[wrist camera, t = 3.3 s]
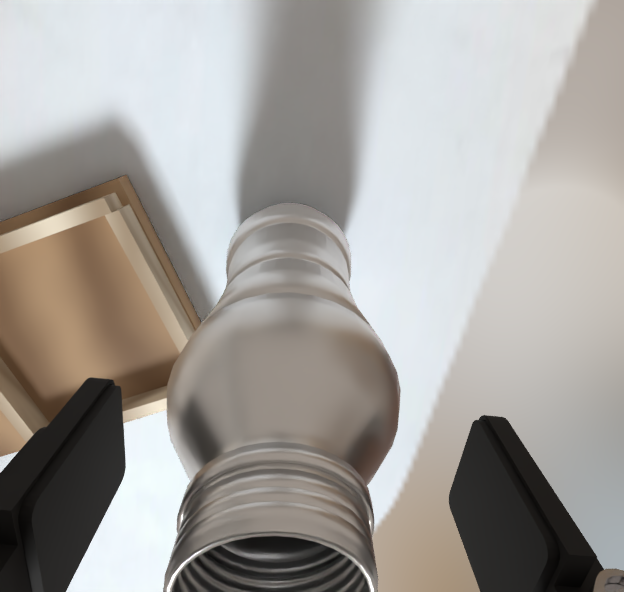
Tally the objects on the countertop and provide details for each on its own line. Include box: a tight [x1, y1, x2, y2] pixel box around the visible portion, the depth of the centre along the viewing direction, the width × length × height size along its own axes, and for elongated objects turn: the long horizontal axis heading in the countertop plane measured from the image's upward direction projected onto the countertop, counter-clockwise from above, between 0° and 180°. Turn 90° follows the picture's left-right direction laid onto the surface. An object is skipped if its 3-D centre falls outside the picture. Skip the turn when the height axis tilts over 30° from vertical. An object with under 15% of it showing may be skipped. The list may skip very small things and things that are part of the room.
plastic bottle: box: [163, 203, 400, 592], centre depth 17 cm, size 6×7×20 cm
